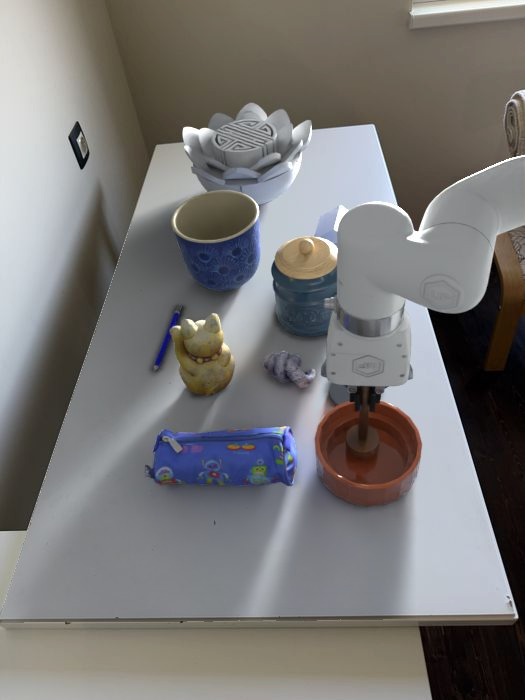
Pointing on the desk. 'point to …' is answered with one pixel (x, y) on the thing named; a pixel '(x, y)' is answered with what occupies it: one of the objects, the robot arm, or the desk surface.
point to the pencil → (167, 338)
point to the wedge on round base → (330, 225)
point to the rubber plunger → (363, 431)
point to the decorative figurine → (203, 355)
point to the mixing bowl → (373, 473)
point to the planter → (219, 238)
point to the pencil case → (225, 457)
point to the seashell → (288, 368)
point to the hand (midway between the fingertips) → (364, 402)
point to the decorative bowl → (248, 152)
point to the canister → (305, 285)
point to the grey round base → (339, 393)
